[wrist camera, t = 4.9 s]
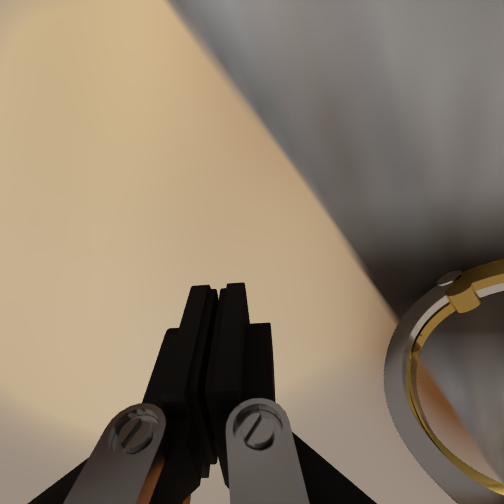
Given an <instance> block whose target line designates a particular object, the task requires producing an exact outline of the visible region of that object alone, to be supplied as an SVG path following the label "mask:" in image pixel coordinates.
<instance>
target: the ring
mask: <svg viewBox="0 0 504 504" xmlns="http://www.w3.org/2000/svg"><path fill="white" fill-rule="evenodd" d="M436 283H437V286H435V287H434V288H432V289H431V290H430V291H428V292H427V293H426V294H424V295H423V296H422V297H421V298H420V299H419V300H417V301H416V302H415V303H414V304H413V305H412V306H411V308H410V309H409V310H408V311H407V312H406V313H405V315H404V316H403V317H402V319H401V320H400V322H399V324H398V325H397V327H396V329H395V331H394V333H393V335H392V338H391V340H390V343H389V346H388V349H387V354H386V358H385V364H384V392H385V398H386V403H387V406H388V410H389V413H390V416H391V418H392V421H393V423H394V425H395V427H396V430H397V432H398V433H399V435H400V437H401V438H402V440H403V442H404V443H405V445H406V447H407V448H408V450H409V451H410V453H411V454H412V455H413V457H414V458H415V459H416V461H417V462H418V463H419V465H420V466H421V467H422V468H423V470H424V471H425V472H426V473H427V474H428V475H429V476H430V478H431V479H433V481H434V482H435V483H436V484H437V485H438V486H439V487H440V488H441V489H442V490H443V491H444V492H445V493H446V494H447V495H448V496H450V497H451V498H452V499H453V500H454V501H455V502H456V503H457V504H504V484H503V483H500V482H498V481H495V480H494V479H492V478H490V477H488V476H485V475H484V474H482V473H480V472H478V471H477V470H475V469H473V468H472V467H470V466H469V465H467V464H466V463H464V462H463V461H462V460H460V459H459V458H458V457H457V456H455V455H454V454H453V453H452V452H451V451H450V450H449V449H448V448H446V447H445V446H444V445H443V444H442V442H441V441H440V440H439V439H438V438H437V436H436V435H435V433H434V432H433V430H432V428H431V427H430V425H429V423H428V421H427V419H426V417H425V415H424V412H423V410H422V407H421V404H420V401H419V396H418V392H417V384H416V369H417V363H418V358H419V354H420V351H421V349H422V347H423V344H424V342H425V341H426V339H427V337H428V336H429V334H430V333H431V332H432V330H433V329H434V328H435V327H436V326H437V325H438V324H439V323H440V322H441V321H442V320H443V319H445V318H446V317H447V316H448V315H450V314H451V313H453V312H454V311H456V312H457V313H464V312H467V311H470V310H472V309H474V308H476V307H477V306H479V305H480V303H481V299H480V298H481V297H484V296H487V295H490V294H493V293H496V292H500V291H504V259H501V260H497V261H493V262H490V263H486V264H483V265H480V266H477V267H474V268H472V269H469V270H467V271H464V272H462V273H461V271H460V270H455V271H451V272H449V273H446V274H444V275H443V276H441V277H440V278H439V279H438V280H437V281H436Z"/></svg>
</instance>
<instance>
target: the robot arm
mask: <svg viewBox="0 0 504 504" xmlns="http://www.w3.org/2000/svg"><path fill="white" fill-rule="evenodd" d="M218 458H219V462H220V466H221V470H222V474H223V478H224V482H225V485H226V486H227V487H228V488H229V490H230V504H377V503H375V502H374V501H373V500H372V499H371V498H370V497H368V496H367V495H366V494H365V493H364V492H363V491H361V490H360V489H359V488H358V487H357V486H355V485H354V484H353V483H352V482H351V481H350V480H348V479H347V478H346V477H345V476H344V475H342V474H341V473H340V472H339V471H338V470H337V469H335V468H334V467H333V466H332V465H331V464H329V463H328V462H327V461H326V460H325V459H324V458H322V457H321V456H320V455H319V454H318V453H316V452H315V451H314V450H313V449H312V448H310V447H309V446H308V445H307V444H306V443H305V442H303V441H302V440H301V439H300V438H299V437H298V436H296V435H295V434H294V433H293V432H292V430H291V427H290V422H289V419H288V417H287V414H286V412H285V411H284V410H283V409H282V408H281V406H280V405H279V404H277V403H275V383H274V363H273V347H272V336H271V324H270V323H255V324H250V321H249V313H248V305H247V297H246V290H245V283H230V284H227V287H226V288H224V289H221V290H220V296H219V300H218V294H217V290H216V289H211V287H210V285H199V286H192V287H191V290H190V293H189V296H188V300H187V303H186V307H185V310H184V313H183V317H182V320H181V323H180V327H179V328H170V329H168V330H167V331H166V334H165V336H164V340H163V343H162V345H161V348H160V351H159V355H158V357H157V360H156V363H155V366H154V369H153V372H152V375H151V378H150V381H149V384H148V387H147V390H146V393H145V395H144V398H143V402H142V403H139V404H136V405H132V406H129V407H128V408H126V409H125V410H122V411H121V412H119V413H118V414H117V415H116V416H115V417H114V418H113V419H112V420H111V421H110V423H109V424H108V425H107V427H106V428H105V430H104V432H103V434H102V435H101V437H100V439H99V441H98V443H97V444H96V446H95V448H94V450H93V451H92V453H91V455H90V457H89V458H88V459H86V460H85V461H84V462H82V463H81V464H80V465H79V466H77V467H76V468H74V469H73V470H72V471H70V472H69V473H68V474H66V475H65V476H64V477H63V478H61V479H60V480H58V481H57V482H56V483H55V484H53V485H52V486H51V487H49V488H48V489H46V490H45V491H44V492H42V493H41V494H40V495H39V496H37V497H36V498H35V499H33V500H32V501H31V502H29V503H28V504H190V500H191V493H192V492H193V491H195V490H196V489H197V488H198V487H199V486H200V481H201V478H208V477H209V470H210V464H216V463H217V459H218Z"/></svg>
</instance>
